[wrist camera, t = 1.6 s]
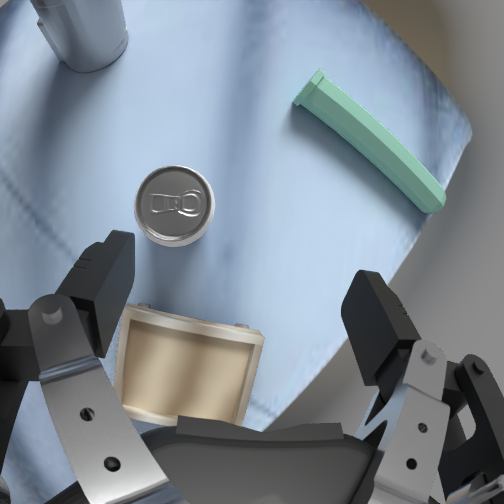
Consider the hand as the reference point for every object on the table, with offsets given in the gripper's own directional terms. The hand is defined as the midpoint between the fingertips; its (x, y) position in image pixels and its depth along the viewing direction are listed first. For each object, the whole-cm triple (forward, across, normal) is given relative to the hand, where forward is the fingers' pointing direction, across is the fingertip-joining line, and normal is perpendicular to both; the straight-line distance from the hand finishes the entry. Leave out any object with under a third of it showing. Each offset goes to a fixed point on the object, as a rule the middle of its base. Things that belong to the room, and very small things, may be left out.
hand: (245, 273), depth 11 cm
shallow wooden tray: (+14, +2, +23) cm, 27 cm away
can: (+22, +5, +9) cm, 25 cm away
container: (+31, -18, -1) cm, 35 cm away
